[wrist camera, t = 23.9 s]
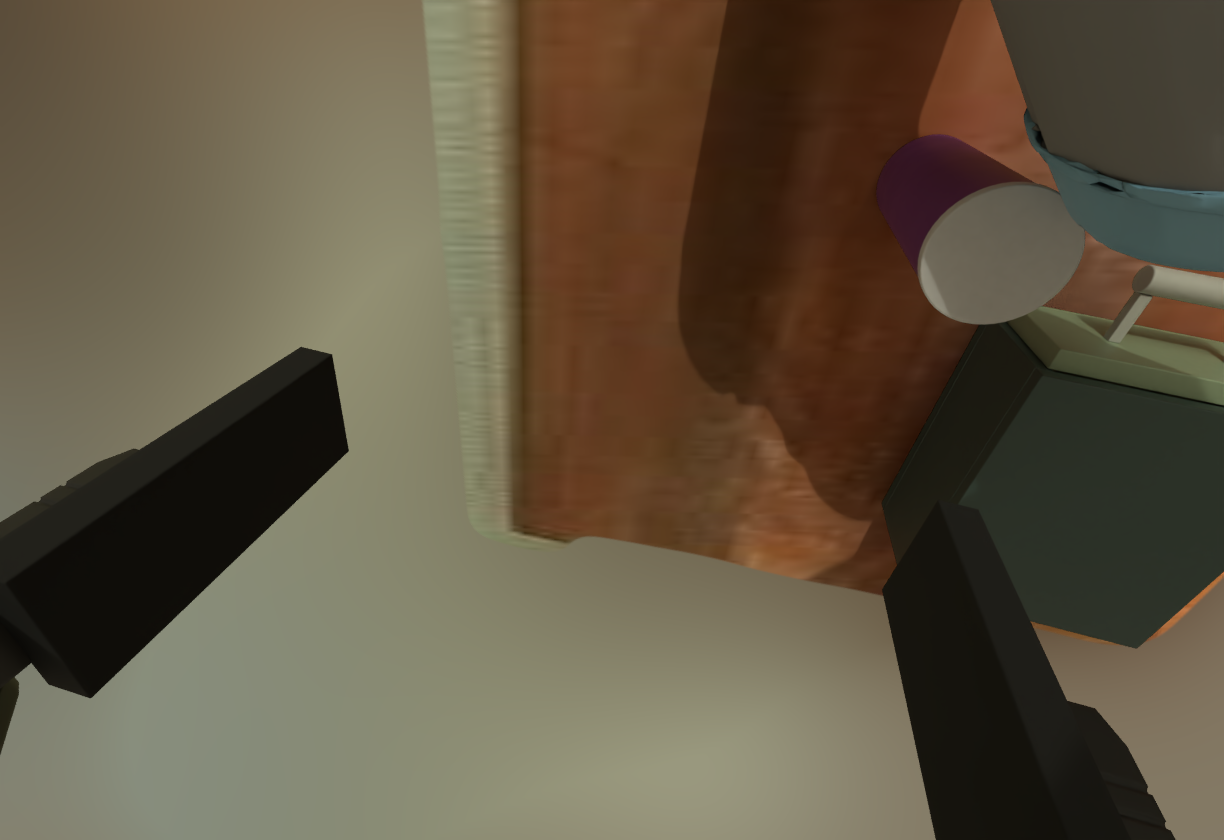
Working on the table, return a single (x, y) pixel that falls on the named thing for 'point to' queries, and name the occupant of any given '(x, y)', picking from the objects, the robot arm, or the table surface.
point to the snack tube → (977, 230)
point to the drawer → (1135, 341)
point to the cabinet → (1073, 488)
